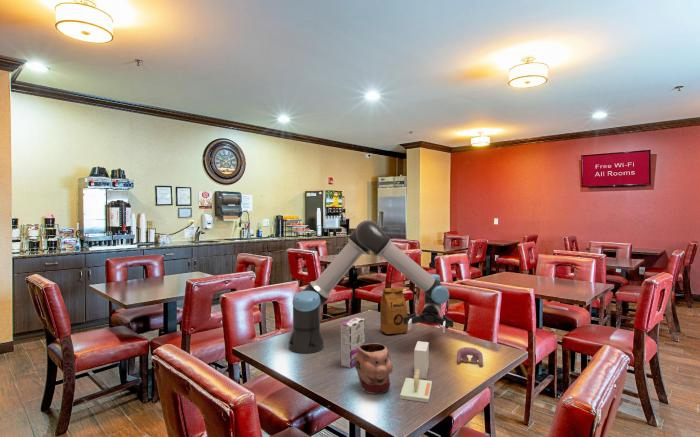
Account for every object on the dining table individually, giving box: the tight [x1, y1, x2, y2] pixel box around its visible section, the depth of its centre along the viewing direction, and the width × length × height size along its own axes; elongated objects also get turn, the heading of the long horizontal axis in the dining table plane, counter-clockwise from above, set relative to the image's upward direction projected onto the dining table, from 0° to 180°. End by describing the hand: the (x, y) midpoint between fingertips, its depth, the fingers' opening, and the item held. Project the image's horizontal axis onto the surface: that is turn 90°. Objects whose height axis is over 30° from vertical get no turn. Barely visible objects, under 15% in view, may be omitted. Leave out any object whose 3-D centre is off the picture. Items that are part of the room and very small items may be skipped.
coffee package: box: [379, 286, 409, 335], centre depth 190 cm, size 10×12×22 cm
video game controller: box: [456, 346, 484, 368], centre depth 153 cm, size 10×5×7 cm, turn 71°
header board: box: [399, 369, 433, 403], centre depth 130 cm, size 9×13×6 cm
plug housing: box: [413, 340, 430, 380], centre depth 144 cm, size 10×4×10 cm, turn 163°
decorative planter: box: [354, 342, 394, 395], centre depth 133 cm, size 20×12×14 cm, turn 23°
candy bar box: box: [339, 316, 366, 369], centre depth 153 cm, size 11×5×16 cm, turn 148°
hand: (426, 328), depth 153 cm, fingers open, 13 cm apart
